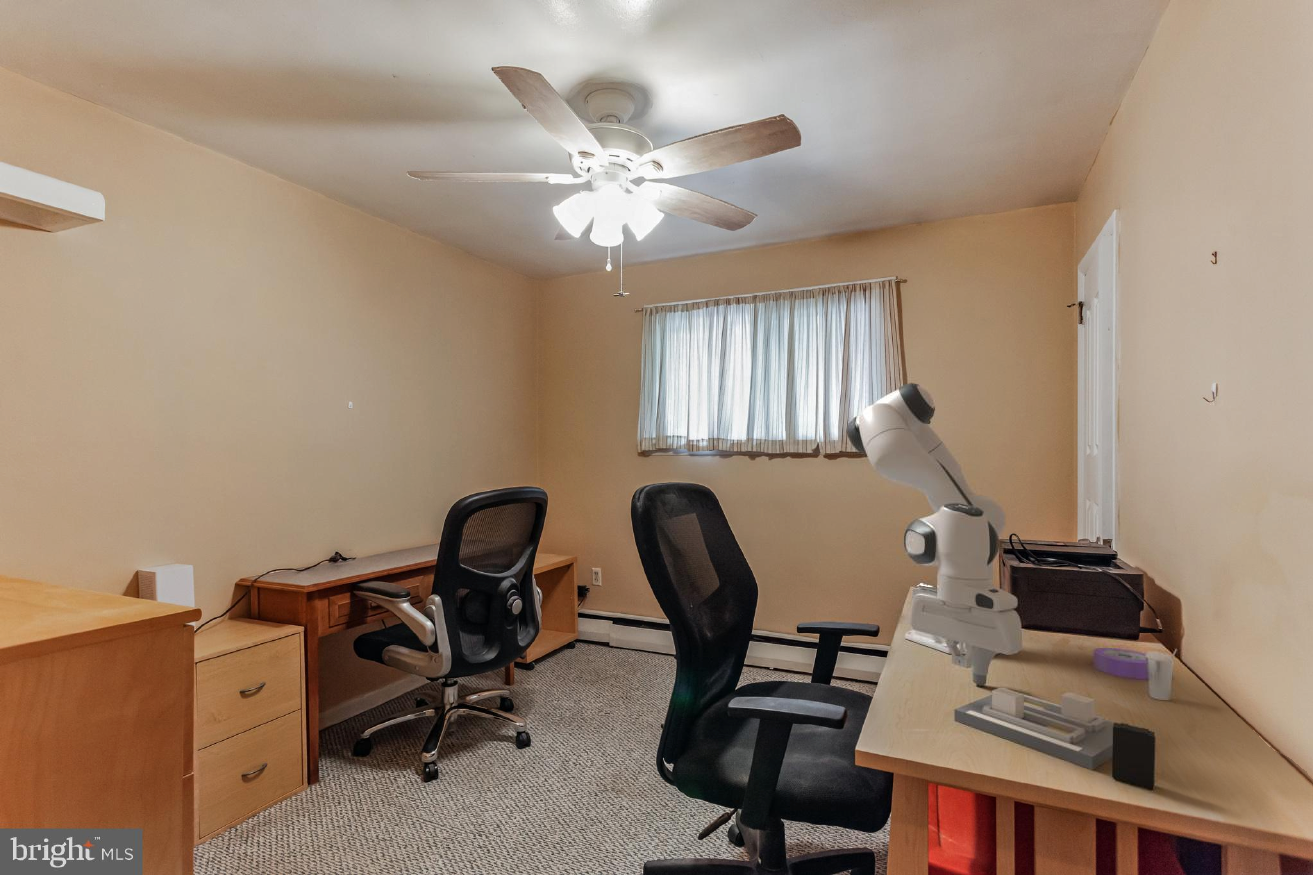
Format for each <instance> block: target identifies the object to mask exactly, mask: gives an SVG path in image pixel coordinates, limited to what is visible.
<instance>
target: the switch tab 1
mask: <svg viewBox="0 0 1313 875" xmlns="http://www.w3.org/2000/svg"><path fill="white" fill-rule="evenodd" d="M991 695H992V710H995V711H998V712H1001V713H1004V714H1007V715H1010V716H1013V717H1016V718H1019V719H1021V718H1023V717H1024V695H1025V694H1024V693H1021V692H1017V691H1014V690H1010V689H1008V688H1004V687H998V688H996V689H995V688H994V689H992V691H991Z"/></svg>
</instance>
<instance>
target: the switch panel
mask: <svg viewBox="0 0 1313 875" xmlns="http://www.w3.org/2000/svg"><path fill="white" fill-rule="evenodd" d="M953 714H954V719H953V720H954V721H955V722H957V723H961V724H963V725H966V726H969V727H972V728H974V729H977V730H980V731H983V732H985V733H988V734H991V735H994V736H996V737H1000V738H1002V739H1005V740H1008V741H1011V742H1013V743H1016V744H1019V745H1022V746H1024V747H1027V748H1029V749H1032V750H1036V751H1038V752H1041V753H1043V754H1047V755H1049V756H1052V757H1054V758H1057V759H1061V760H1063V761H1065V762H1069V763H1071V764H1075V765H1077V766H1080V767H1082V768H1085V769H1088V770H1090V771H1093V770H1095V769H1097V768H1098V767H1100V766H1102V765H1103V764H1105V763H1106V762H1107V761H1108V762H1109V760H1111V759H1112V750H1113V725H1114V722H1112V721H1109V720H1105V717H1101V716H1099V715H1098V716H1097V715H1095V721H1093V722H1091V723H1086V722H1083V721H1079V720H1076V719H1073V718H1070V717H1066V716H1063V715H1062V713H1061V705H1060V704H1058V703H1054V702H1050V701H1048V700H1045V699H1044V700H1043V699H1041V698H1037V697H1035V696H1030V695H1027V694H1024V717H1023V718H1021V719H1019V718H1016V717H1013V716H1010V715H1007V714H1004V713H1001V712H998V711H995V710H992V694H990V695H988V696H985V697H982V698H979V699H977V700H975V701H973V702H970V703H967V704H965V705H962V706H959V707H957V708H954V713H953Z"/></svg>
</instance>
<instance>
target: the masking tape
mask: <svg viewBox="0 0 1313 875" xmlns="http://www.w3.org/2000/svg"><path fill="white" fill-rule="evenodd" d="M1145 655H1146V653H1144V652H1140V651H1135V650H1130V649H1126V648H1125V649H1124V648H1117V647H1116V648H1115V647H1098V648H1095V649H1094V650H1093V667H1094V668H1095V669H1096V670H1099V671H1101V672H1103V673H1107V674H1109V675H1112V676H1116V677H1121V678H1127V679H1133V680H1134V679H1135V680H1148V674H1147V666H1146V658H1145Z"/></svg>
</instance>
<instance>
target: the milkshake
mask: <svg viewBox="0 0 1313 875" xmlns="http://www.w3.org/2000/svg"><path fill="white" fill-rule="evenodd" d="M1177 651H1178V649H1177V648H1175V649H1174V651H1173V653H1172V655H1169V654H1167V653H1165V652H1161V651H1157V650H1155V651H1153V650H1149V651H1148V652H1146V653H1145V654H1146V655H1145V658H1146V666H1147V674H1148V679H1147V682H1148V684H1147V685H1148V694H1149V697H1150V698H1152V699H1155V700H1160V701H1170V700H1171V692H1172V682H1173V681H1172V680H1173V679H1172V678H1173V670H1174V661H1175V659H1174V657H1175V655H1176V653H1177Z"/></svg>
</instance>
